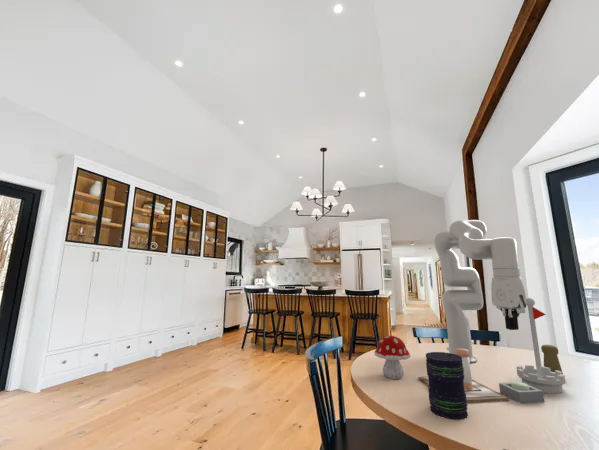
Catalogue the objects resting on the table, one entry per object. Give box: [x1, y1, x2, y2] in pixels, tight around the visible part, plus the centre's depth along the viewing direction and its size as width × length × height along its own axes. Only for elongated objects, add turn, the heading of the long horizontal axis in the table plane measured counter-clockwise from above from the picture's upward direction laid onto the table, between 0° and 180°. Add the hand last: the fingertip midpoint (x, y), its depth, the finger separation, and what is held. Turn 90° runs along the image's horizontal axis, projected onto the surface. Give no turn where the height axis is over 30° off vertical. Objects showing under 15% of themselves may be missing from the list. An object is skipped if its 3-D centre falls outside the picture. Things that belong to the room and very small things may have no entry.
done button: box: [510, 381, 529, 391], centre depth 93 cm, size 5×5×4 cm
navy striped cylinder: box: [425, 351, 469, 421], centre depth 84 cm, size 10×10×15 cm
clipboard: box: [417, 375, 510, 404], centre depth 100 cm, size 22×18×1 cm
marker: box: [455, 348, 473, 389], centre depth 99 cm, size 4×4×12 cm
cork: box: [540, 344, 564, 374], centre depth 114 cm, size 6×6×11 cm
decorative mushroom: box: [374, 335, 412, 380], centre depth 114 cm, size 14×14×15 cm
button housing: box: [498, 381, 545, 404], centre depth 93 cm, size 8×8×3 cm
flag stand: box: [516, 297, 566, 394], centre depth 103 cm, size 13×13×30 cm
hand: (512, 329), depth 97 cm, fingers closed
